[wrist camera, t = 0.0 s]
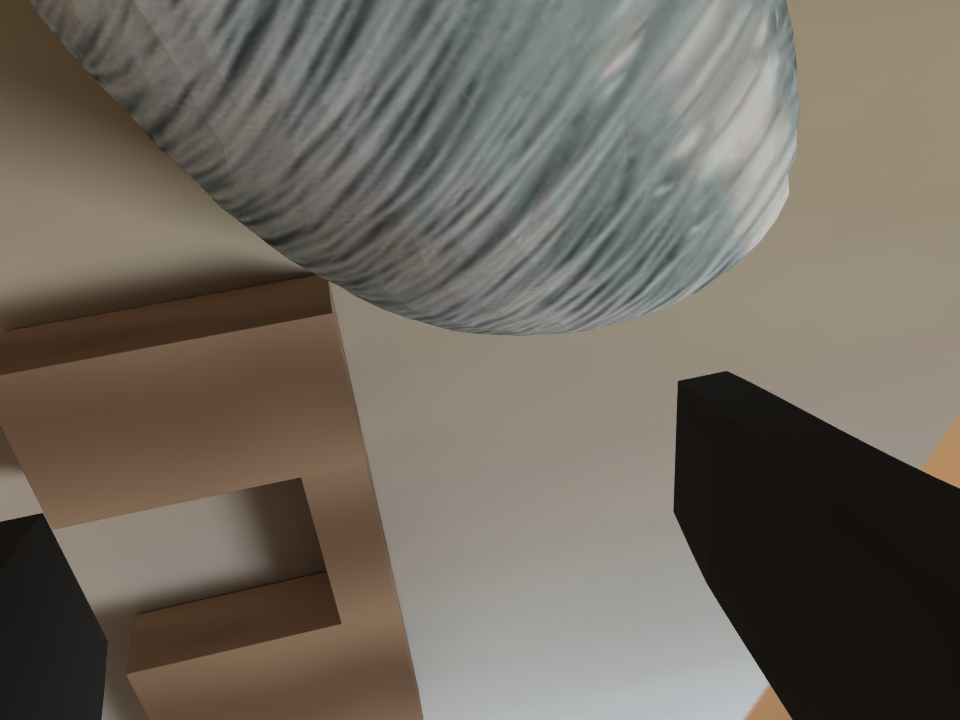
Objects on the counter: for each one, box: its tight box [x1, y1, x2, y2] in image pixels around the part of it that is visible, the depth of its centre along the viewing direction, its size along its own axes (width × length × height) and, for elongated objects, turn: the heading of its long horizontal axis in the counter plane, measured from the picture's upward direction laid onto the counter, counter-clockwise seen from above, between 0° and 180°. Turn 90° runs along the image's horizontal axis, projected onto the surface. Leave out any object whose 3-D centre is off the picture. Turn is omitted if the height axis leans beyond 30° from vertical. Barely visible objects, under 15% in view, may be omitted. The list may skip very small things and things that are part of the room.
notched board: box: [0, 275, 424, 720], centre depth 21 cm, size 15×7×2 cm, turn 6°
